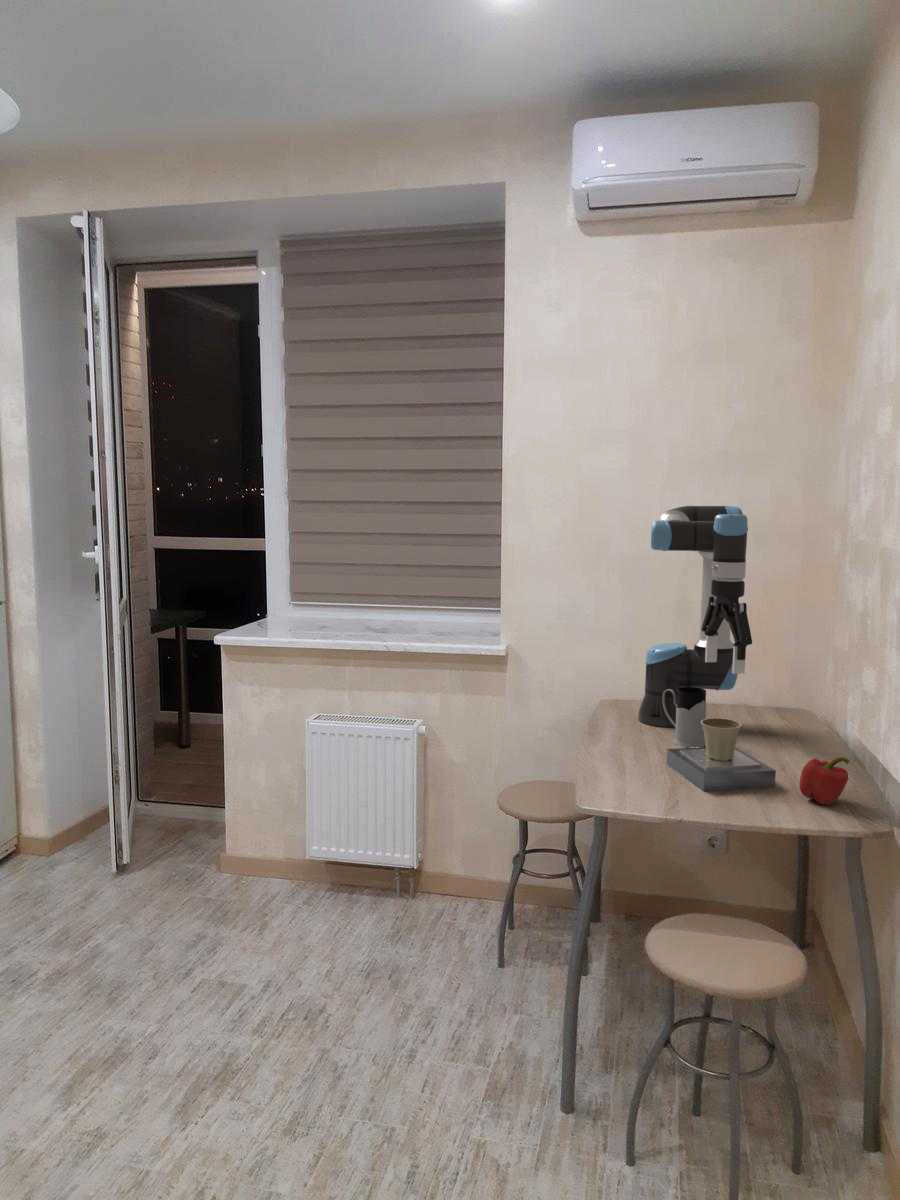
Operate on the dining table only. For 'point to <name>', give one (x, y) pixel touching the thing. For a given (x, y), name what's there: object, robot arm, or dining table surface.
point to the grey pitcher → (688, 716)
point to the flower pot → (720, 737)
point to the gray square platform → (720, 770)
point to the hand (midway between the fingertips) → (724, 667)
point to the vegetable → (823, 780)
